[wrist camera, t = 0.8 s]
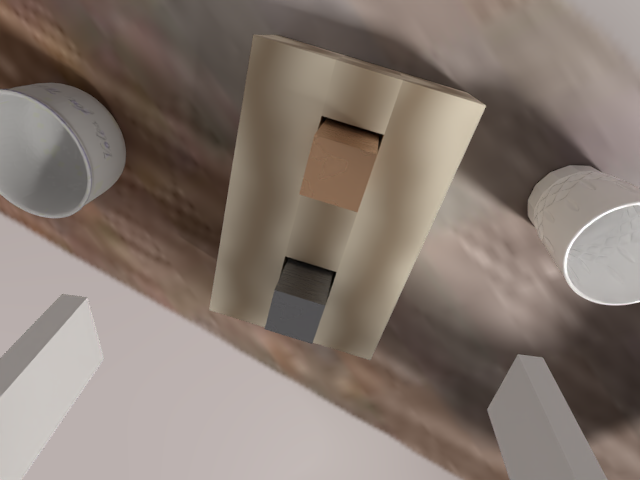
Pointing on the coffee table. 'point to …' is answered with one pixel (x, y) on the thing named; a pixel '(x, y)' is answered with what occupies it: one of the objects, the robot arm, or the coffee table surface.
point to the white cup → (590, 232)
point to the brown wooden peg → (340, 164)
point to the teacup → (56, 148)
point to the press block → (326, 219)
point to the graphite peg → (299, 300)
